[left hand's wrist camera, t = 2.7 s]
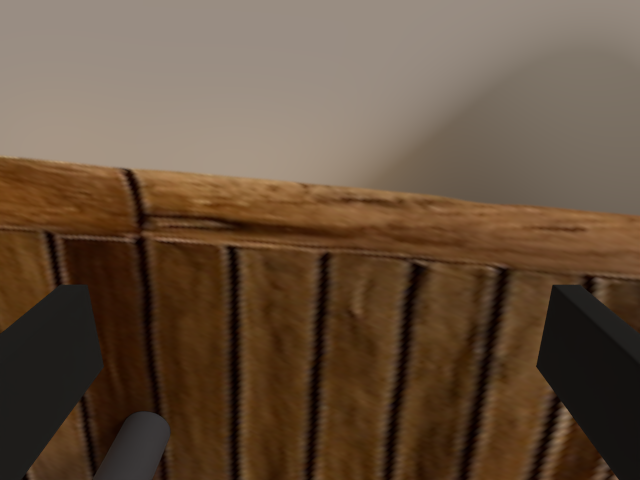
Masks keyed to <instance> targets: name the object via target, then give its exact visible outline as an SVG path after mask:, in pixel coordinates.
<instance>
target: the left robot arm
mask: <svg viewBox="0 0 640 480" xmlns="http://www.w3.org/2000/svg"><path fill="white" fill-rule="evenodd" d="M103 367H104V366H103V361H102V356H101V351H100V346H99V341H98V336H97V331H96V326H95V321H94V316H93V311H92V306H91V301H90V296H89V291H88V286H87V285H59V286H58V287H57V288H56V289H54V290H53V291H52V292H51V293H50V294H48V295H47V296H46V297H45V298H44V299H42V300H41V301H40V302H39V303H37V304H36V305H35V306H34V307H33V308H31V309H30V310H29V311H28V312H27V313H25V314H24V315H23V316H22V317H20V318H19V319H18V320H17V321H16V322H14V323H13V324H12V325H11V326H9V327H8V328H7V329H6V330H5V331H3V332H2V333H1V334H0V480H21V479H22V478H23V476H24V475H25V474H26V472H27V471H28V470H29V468H30V467H31V466H32V464H33V463H34V461H35V460H36V459H37V457H38V456H39V455H40V453H41V452H42V450H43V449H44V448H45V446H46V445H47V444H48V442H49V441H50V440H51V438H52V437H53V435H54V434H55V433H56V431H57V430H58V429H59V427H60V426H61V425H62V423H63V422H64V420H65V419H66V418H67V416H68V415H69V414H70V412H71V411H72V409H73V408H74V407H75V405H76V404H77V403H78V401H79V400H80V399H81V397H82V396H83V394H84V393H85V392H86V390H87V389H88V388H89V386H90V385H91V383H92V382H93V381H94V379H95V378H96V377H97V375H98V374H99V373H100V371H101V370H102V368H103ZM536 367H537V368H538V370H539V371H540V373H541V374H542V375H543V377H544V378H545V379H546V381H547V382H548V383H549V385H550V386H551V388H552V389H553V390H554V392H555V393H556V394H557V396H558V397H559V399H560V400H561V401H562V403H563V404H564V405H565V407H566V408H567V409H568V411H569V412H570V414H571V415H572V416H573V418H574V419H575V420H576V422H577V423H578V425H579V426H580V427H581V429H582V430H583V431H584V433H585V434H586V435H587V437H588V438H589V440H590V441H591V442H592V444H593V445H594V446H595V448H596V449H597V450H598V452H599V453H600V455H601V456H602V457H603V459H604V460H605V461H606V463H607V464H608V466H609V467H610V468H611V470H612V471H613V472H614V474H615V475H616V476H617V478H618V479H619V480H640V334H639V333H638V332H637V331H635V330H634V329H633V328H632V327H631V326H629V325H628V324H627V323H626V322H624V321H623V320H622V319H621V318H620V317H618V316H617V315H616V314H615V313H613V312H612V311H611V310H610V309H609V308H607V307H606V306H605V305H604V304H603V303H601V302H600V301H599V300H598V299H596V298H595V297H594V296H593V295H592V294H590V293H589V292H588V291H587V290H586V289H584V288H583V287H582V286H581V285H553V286H552V291H551V296H550V301H549V306H548V311H547V316H546V321H545V326H544V331H543V336H542V341H541V346H540V351H539V356H538V361H537V365H536Z"/></svg>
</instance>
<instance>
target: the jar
mask: <svg viewBox="0 0 640 480" xmlns="http://www.w3.org/2000/svg"><path fill="white" fill-rule="evenodd" d="M169 437H170V427H169V425H168V423H167V422H166V421H165V419H163V418H162V417H161V416H159V415H157V414H155V413H152V412H146V411H141V412H136V413H134V414H132V415H130V416H129V417H128V418H127V419H126V420H125V422H124V424H123V426H122V427H121V429H120V431H119V433H118V435H117V436H116V438H115V440H114V442H113V444H112V445H111V447H110V449H109V451H108V453H107V454H106V456H105V458H104V460H103V462H102V463H101V465H100V467H99V469H98V470H97V472H96V474H95V476H94V478H93V479H92V480H152V478H153V476H154V474H155V471H156V469H157V466H158V464H159V461H160V459H161V457H162V454H163V452H164V449H165V447H166V444H167V442H168V440H169Z"/></svg>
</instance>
